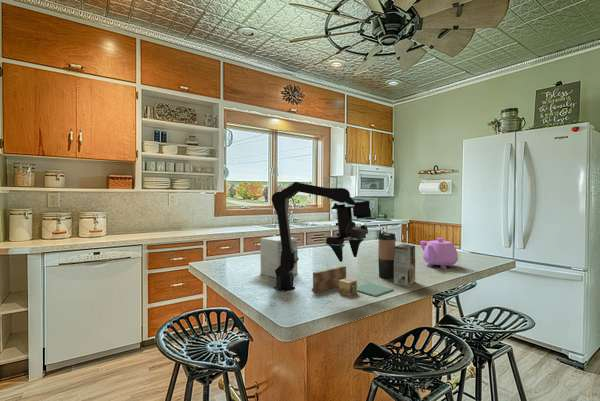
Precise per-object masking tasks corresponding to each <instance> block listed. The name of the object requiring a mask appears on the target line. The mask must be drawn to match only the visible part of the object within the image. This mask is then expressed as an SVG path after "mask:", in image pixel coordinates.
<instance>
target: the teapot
mask: <svg viewBox="0 0 600 401" xmlns="http://www.w3.org/2000/svg"><path fill="white" fill-rule="evenodd" d="M419 243H420V244H419V245H420V248H421V249H422V251H423V253H422V259H423V260H424V261H425V263H428V264H427V265H426V266H427V267H434V265H435V266H436V265H437V266H440V269H443V270H447V267H449V266H450V267H449V268H452V267H454V265H455V264H457V262H458V261H459V255H458V254H459V253H458V251H457V248H456V246H455V245H454V243H453V242H452V241H447V240H445V238H443V237H437V238H436V240H429V241H427V240H420V242H419ZM425 244H426V245H425Z"/></svg>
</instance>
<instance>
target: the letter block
mask: <svg viewBox="0 0 600 401" xmlns="http://www.w3.org/2000/svg"><path fill="white" fill-rule="evenodd" d="M357 286H358V280H357V279H353V278H349V277H346V278H345V279H341V280H339V286H338V294H341V295H345V296H353V295H356V294H357V293H358V292H357Z"/></svg>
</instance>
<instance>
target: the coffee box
mask: <svg viewBox="0 0 600 401" xmlns="http://www.w3.org/2000/svg"><path fill="white" fill-rule="evenodd" d="M414 283H416V245H413V244H412V245H411V244H405V243H402V244H398V245H395V247H394V278H393V284H394V285H397V286H403V287H409V286H411V285H412V284H414Z"/></svg>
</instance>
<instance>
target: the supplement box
mask: <svg viewBox="0 0 600 401" xmlns="http://www.w3.org/2000/svg"><path fill="white" fill-rule="evenodd" d="M259 241H260V274H262V275H264V276H268V277H272V278H275V279H276V273H275V270H276V269H277V268H278V267H279V266H280V261H281V252H282V246H281V238H280V235H275V236H268V237H261V238H260V240H259ZM291 242H292V247H293V249H294V251H296V250H297V251H298V237H292V236H291ZM291 272H292V273H293V275H297V274H298V264H297V265H296V266H295V267H294V269H293V270H292V271H291Z"/></svg>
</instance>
